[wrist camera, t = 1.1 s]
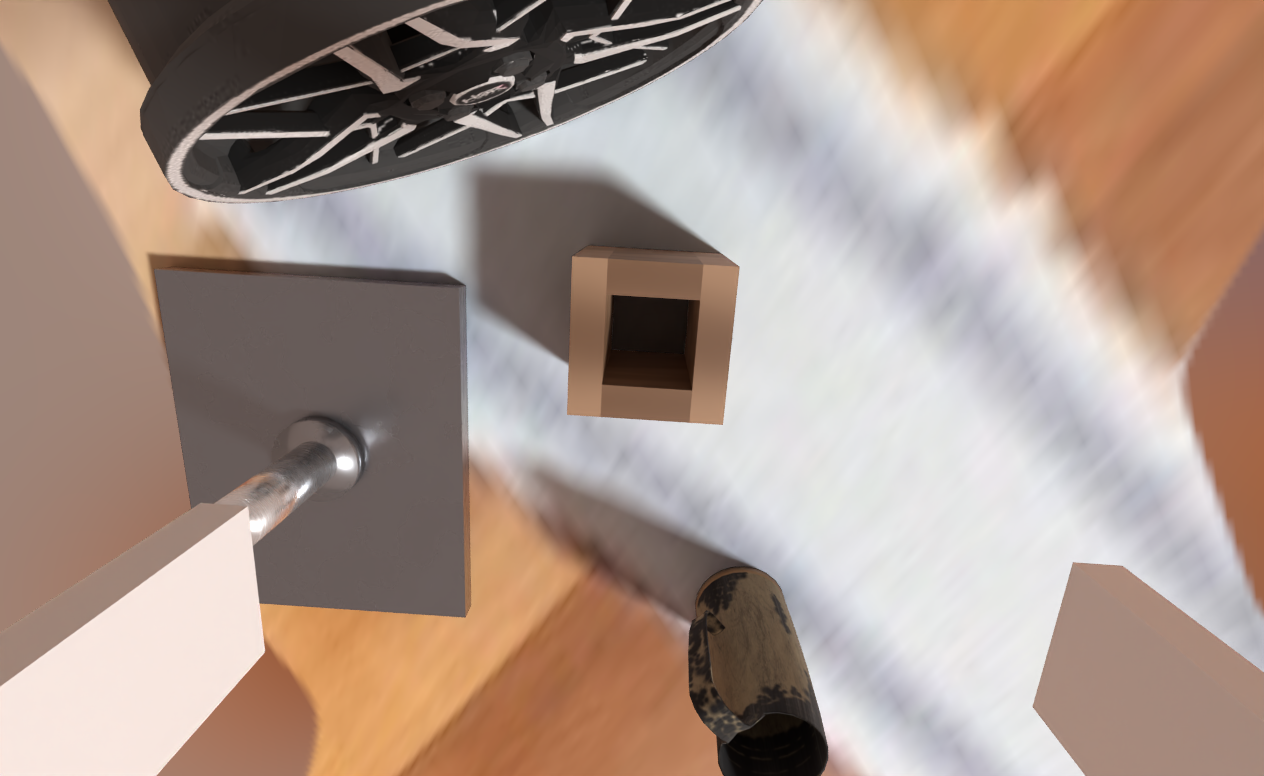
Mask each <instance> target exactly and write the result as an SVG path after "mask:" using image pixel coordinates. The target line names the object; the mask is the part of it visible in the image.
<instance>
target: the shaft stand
mask: <svg viewBox="0 0 1264 776" xmlns="http://www.w3.org/2000/svg"><path fill="white" fill-rule="evenodd" d="M154 273H155V279H156V286H157V292H158V298H159V305H160V311H161V318H162V324H163V331H164V337H165V343H166V350H167V356H168V363H169V369H170V375H171V382H172V388H173V395H174V401H175V408H176V414H177V420H178V427H179V433H180V440H181V446H182V452H183V459H184V465H185V472H186V477H187V484H188V491H189V498H190V504H191V509H192V508H194V507H195V506H197V505H198V504H200V503H210V504H224V505H239V506H248V510H249V519H250V528H251V536H252V545H253V553H254V562H255V570H256V579H257V588H258V596H259V603H262V604H277V605H292V606H306V607H321V608H335V609H350V610H364V611H379V612H393V613H408V614H422V615H437V616H452V617H466V615H467V613H468V611H469V609H470V606H471V578H470V517H469V457H468V397H467V337H466V285H450V284H434V283H418V282H402V281H387V280H371V279H355V278H339V277H323V276H307V275H291V274H275V273H259V272H243V271H227V270H211V269H195V268H179V267H167V268H159V269H154Z"/></svg>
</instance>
